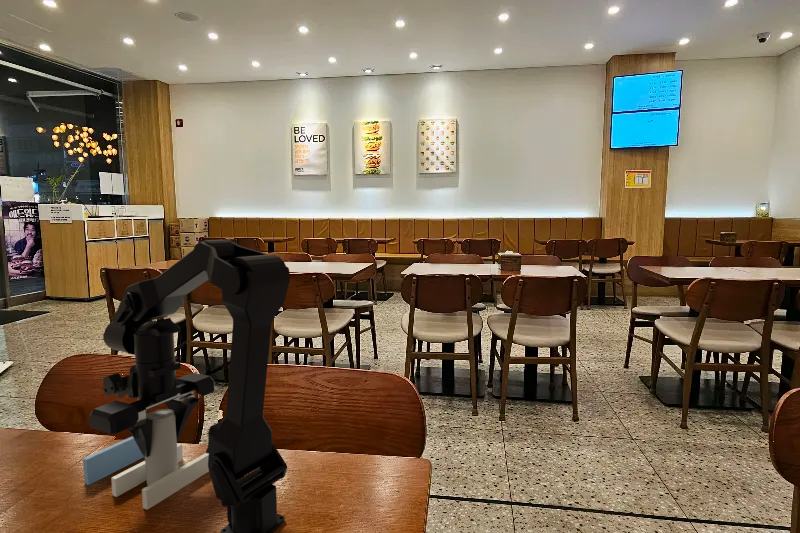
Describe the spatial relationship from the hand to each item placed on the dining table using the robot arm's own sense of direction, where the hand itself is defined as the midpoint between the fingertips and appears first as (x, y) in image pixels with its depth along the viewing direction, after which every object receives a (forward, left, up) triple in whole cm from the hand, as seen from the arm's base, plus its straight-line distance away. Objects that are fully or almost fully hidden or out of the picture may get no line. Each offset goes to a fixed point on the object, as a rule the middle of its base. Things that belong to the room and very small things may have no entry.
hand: (161, 448), depth 74 cm
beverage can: (0, 0, -6) cm, 6 cm away
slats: (+4, 0, -6) cm, 7 cm away
